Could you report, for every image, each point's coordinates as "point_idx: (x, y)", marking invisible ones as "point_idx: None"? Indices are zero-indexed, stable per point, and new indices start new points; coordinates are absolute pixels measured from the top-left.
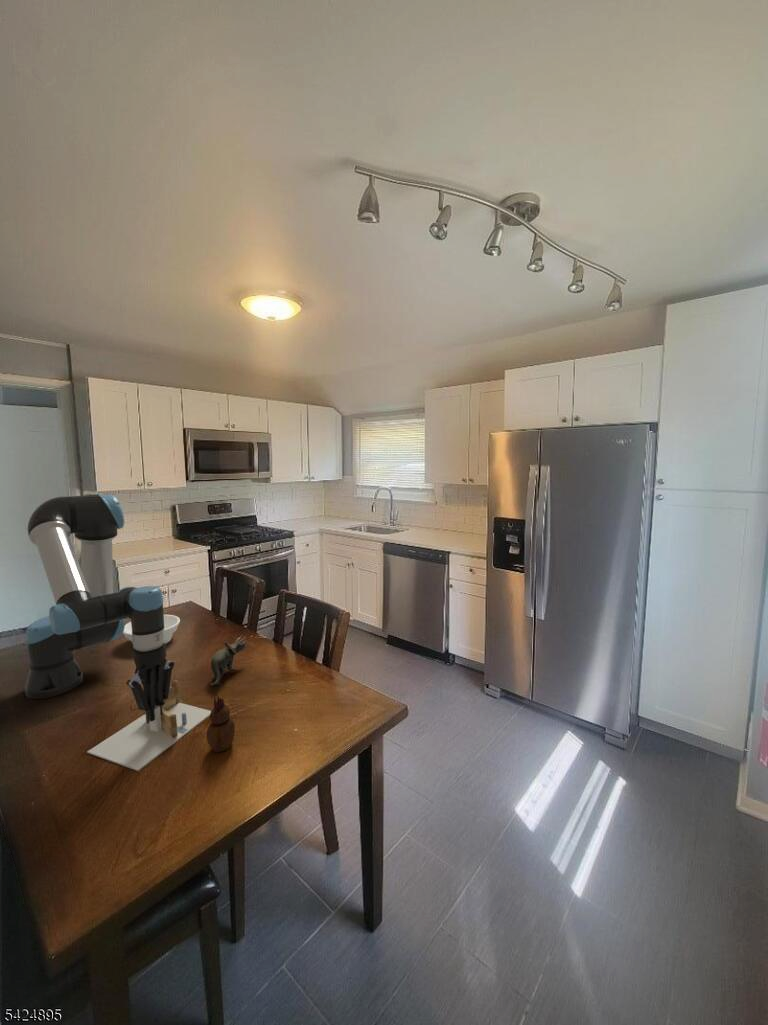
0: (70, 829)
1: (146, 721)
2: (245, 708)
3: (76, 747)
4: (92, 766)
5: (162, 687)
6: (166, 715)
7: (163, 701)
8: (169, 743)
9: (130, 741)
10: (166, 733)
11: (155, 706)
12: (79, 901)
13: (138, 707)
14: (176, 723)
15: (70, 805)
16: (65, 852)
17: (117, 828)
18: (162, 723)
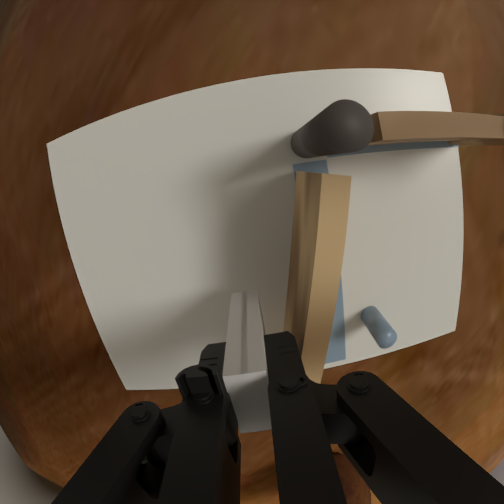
0: (11, 387)
1: (291, 141)
2: (479, 376)
3: (50, 76)
4: (40, 241)
5: (385, 482)
6: None
7: (418, 140)
8: None
9: (163, 227)
10: None
11: (259, 409)
12: (39, 464)
13: (118, 424)
14: None
15: (3, 337)
16: (14, 413)
17: (71, 448)
18: (290, 316)
